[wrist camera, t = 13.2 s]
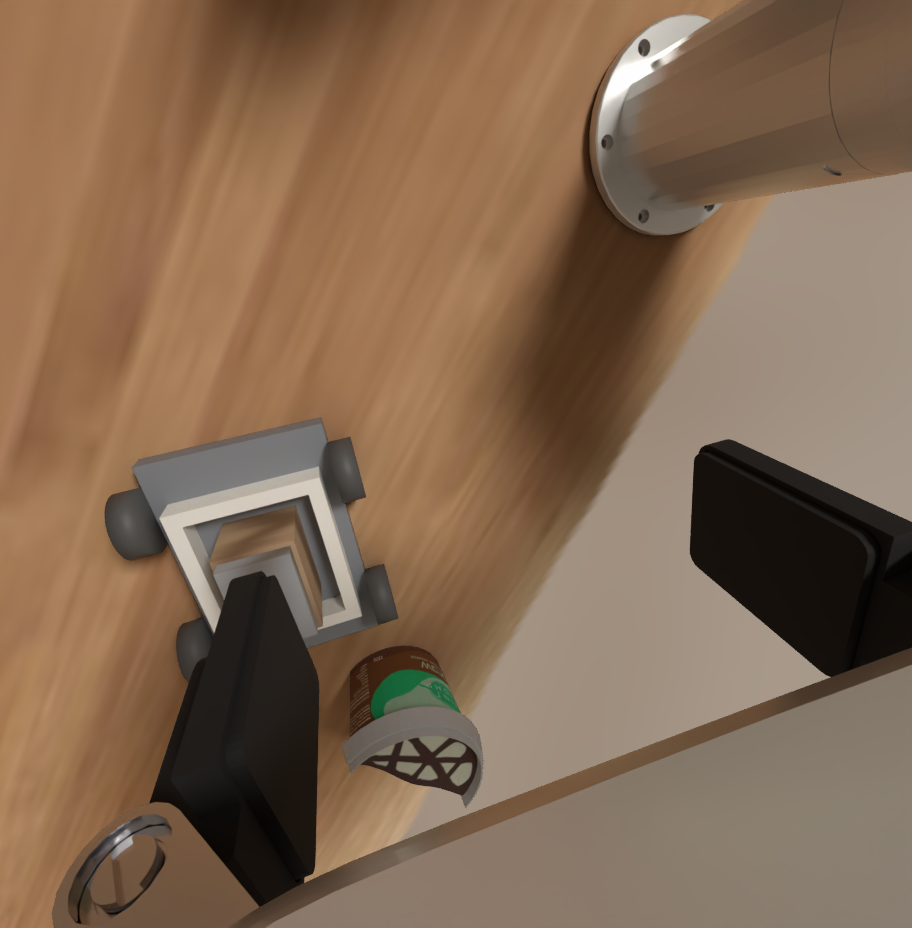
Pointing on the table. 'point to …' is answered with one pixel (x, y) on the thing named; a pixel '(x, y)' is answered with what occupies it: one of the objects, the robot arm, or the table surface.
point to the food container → (411, 723)
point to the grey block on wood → (272, 561)
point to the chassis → (244, 495)
